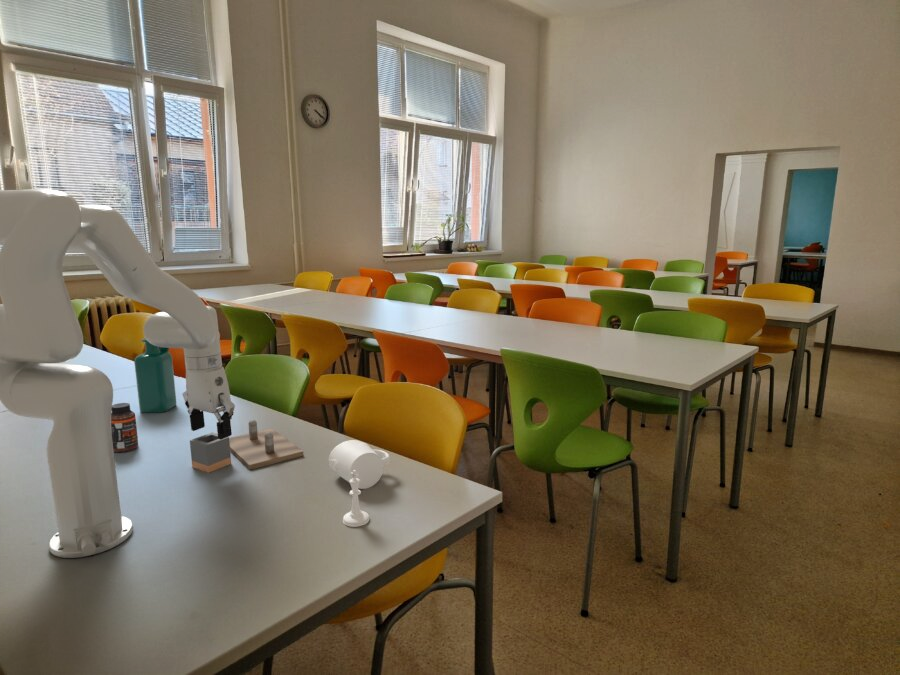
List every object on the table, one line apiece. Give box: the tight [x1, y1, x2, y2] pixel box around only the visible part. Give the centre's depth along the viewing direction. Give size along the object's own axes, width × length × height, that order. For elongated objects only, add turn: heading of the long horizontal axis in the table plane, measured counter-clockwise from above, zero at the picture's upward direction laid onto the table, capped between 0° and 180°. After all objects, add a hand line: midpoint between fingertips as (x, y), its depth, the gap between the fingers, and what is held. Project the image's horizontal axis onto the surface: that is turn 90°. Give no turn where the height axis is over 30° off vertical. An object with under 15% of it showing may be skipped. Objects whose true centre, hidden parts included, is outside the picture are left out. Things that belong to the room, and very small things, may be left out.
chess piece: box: [342, 470, 370, 528], centre depth 107 cm, size 5×5×10 cm
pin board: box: [229, 419, 304, 471], centre depth 141 cm, size 20×13×6 cm, turn 38°
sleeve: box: [189, 431, 232, 474], centre depth 132 cm, size 6×6×6 cm
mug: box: [328, 439, 391, 490], centre depth 125 cm, size 12×9×8 cm
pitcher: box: [133, 337, 177, 413], centre depth 172 cm, size 10×8×22 cm
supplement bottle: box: [111, 402, 139, 453], centre depth 142 cm, size 6×6×11 cm
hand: (211, 433), depth 132 cm, fingers open, 9 cm apart
